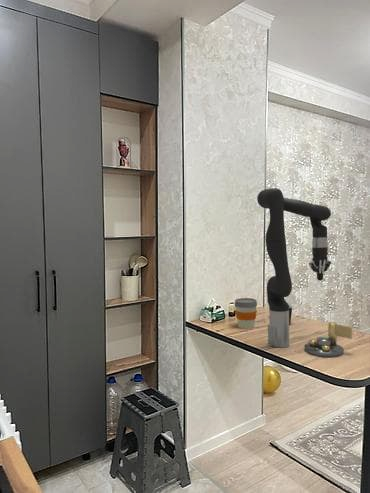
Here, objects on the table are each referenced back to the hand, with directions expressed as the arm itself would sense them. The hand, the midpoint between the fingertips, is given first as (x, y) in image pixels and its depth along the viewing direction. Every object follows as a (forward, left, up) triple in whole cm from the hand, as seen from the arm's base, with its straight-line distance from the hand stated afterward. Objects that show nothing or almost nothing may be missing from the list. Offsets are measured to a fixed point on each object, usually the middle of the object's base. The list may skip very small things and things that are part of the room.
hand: (320, 280), depth 198 cm
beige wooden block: (-7, -21, -27) cm, 35 cm away
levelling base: (-13, -18, -29) cm, 37 cm away
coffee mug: (-2, +28, -29) cm, 41 cm away
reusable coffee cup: (-25, +32, -29) cm, 50 cm away
